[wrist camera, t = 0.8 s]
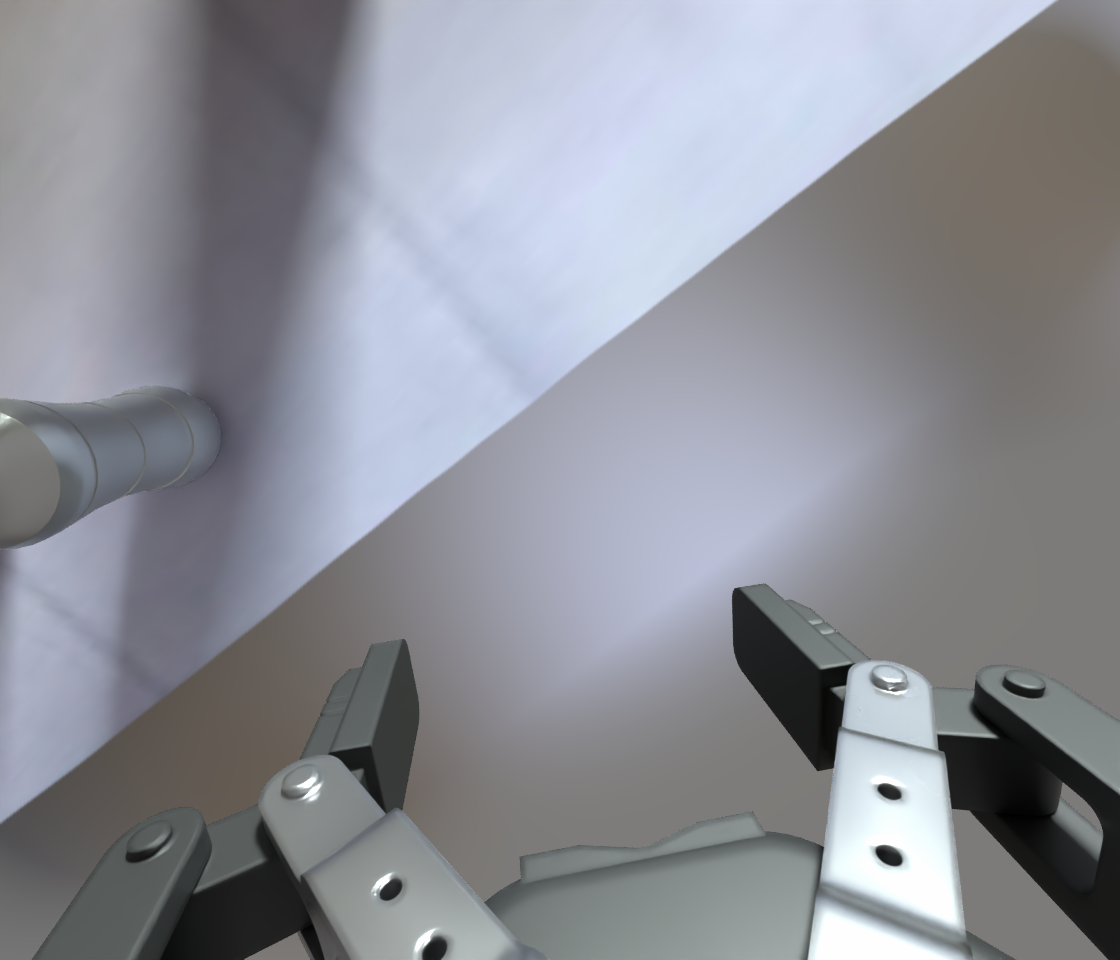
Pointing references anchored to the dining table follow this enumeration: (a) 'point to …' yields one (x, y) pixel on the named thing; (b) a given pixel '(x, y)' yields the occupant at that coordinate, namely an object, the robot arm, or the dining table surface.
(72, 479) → the silver metal bottle
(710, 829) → the robot arm
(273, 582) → the dining table surface
